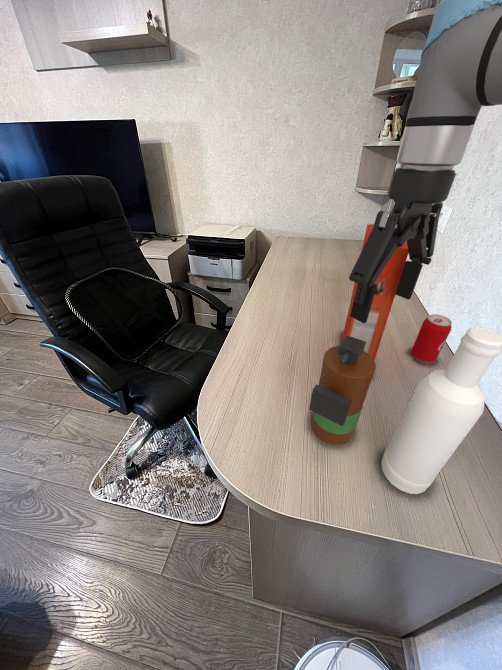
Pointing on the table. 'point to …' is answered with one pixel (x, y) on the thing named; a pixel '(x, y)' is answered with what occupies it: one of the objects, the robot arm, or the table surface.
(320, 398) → the dark rectangular block
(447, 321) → the beverage can
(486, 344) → the bottle
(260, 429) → the table surface
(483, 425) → the table surface
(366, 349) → the file binder
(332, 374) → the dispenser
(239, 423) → the table surface
